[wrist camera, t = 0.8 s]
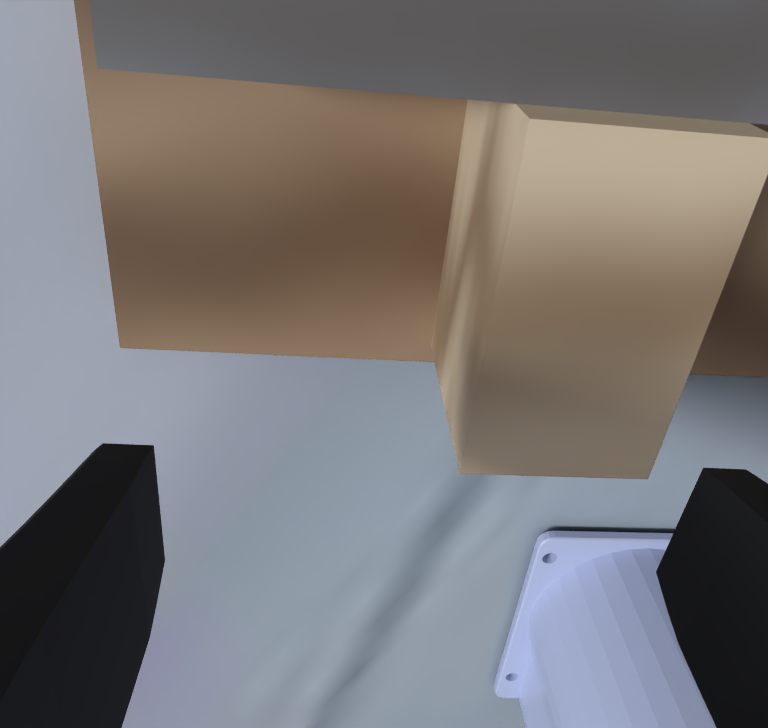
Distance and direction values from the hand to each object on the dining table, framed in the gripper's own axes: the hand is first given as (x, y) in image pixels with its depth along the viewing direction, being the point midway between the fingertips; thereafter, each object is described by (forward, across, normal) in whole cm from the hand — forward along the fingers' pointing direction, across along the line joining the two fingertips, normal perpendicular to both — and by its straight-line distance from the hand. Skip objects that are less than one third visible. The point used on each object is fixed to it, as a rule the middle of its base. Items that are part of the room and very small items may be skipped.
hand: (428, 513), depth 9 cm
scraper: (+9, -3, -1) cm, 10 cm away
